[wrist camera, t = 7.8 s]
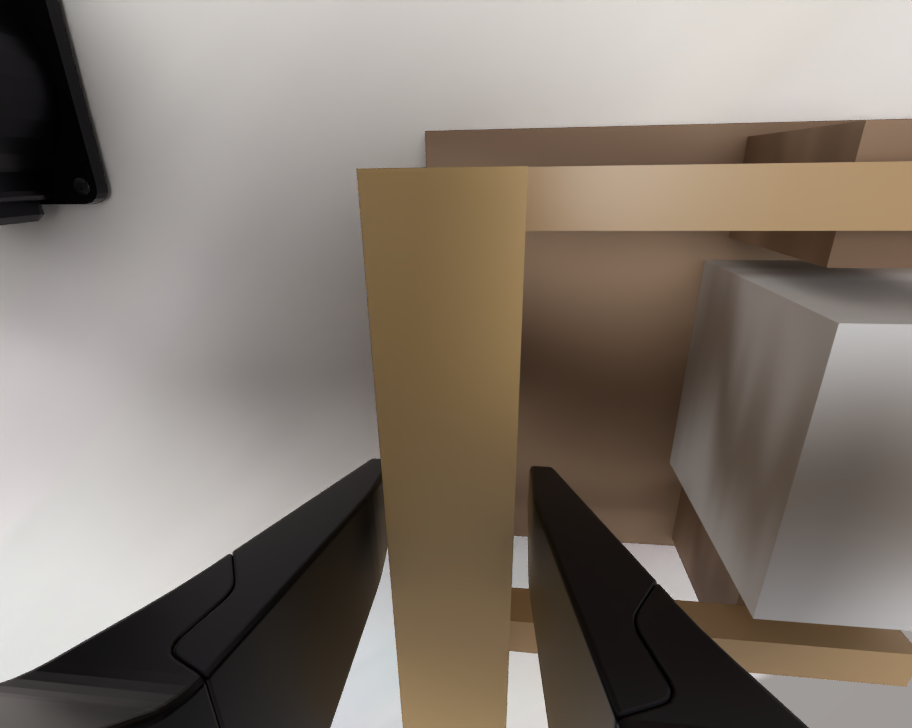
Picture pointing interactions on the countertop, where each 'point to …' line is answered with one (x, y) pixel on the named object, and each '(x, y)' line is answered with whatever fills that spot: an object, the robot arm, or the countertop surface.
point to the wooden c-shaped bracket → (497, 398)
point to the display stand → (725, 375)
